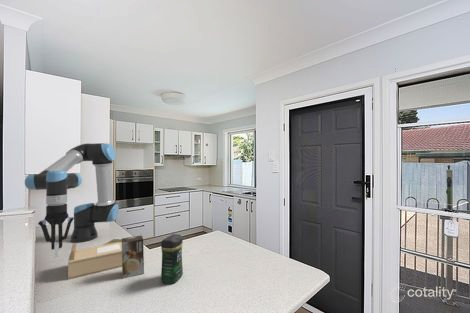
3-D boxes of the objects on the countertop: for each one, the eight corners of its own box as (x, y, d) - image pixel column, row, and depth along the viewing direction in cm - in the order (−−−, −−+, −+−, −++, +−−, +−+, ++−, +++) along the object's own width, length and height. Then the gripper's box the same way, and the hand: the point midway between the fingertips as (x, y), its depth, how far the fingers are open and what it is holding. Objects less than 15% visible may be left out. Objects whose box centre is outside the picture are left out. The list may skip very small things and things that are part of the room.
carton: (94, 256, 123) (94, 248, 124) (113, 245, 139) (113, 238, 139) (107, 256, 122) (107, 249, 122) (125, 245, 138) (125, 238, 138)
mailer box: (71, 267, 110) (71, 252, 110) (128, 254, 124) (128, 241, 124) (68, 279, 98) (68, 263, 99) (132, 264, 112) (132, 250, 112)
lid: (71, 252, 111) (71, 242, 111) (128, 241, 124) (128, 233, 125) (68, 263, 98) (68, 252, 98) (132, 250, 112) (132, 240, 112)
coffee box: (142, 268, 108) (142, 234, 109) (144, 273, 103) (144, 238, 103) (121, 272, 104) (121, 238, 104) (121, 279, 98) (121, 242, 99)
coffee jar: (175, 285, 92) (174, 240, 93) (158, 283, 94) (157, 239, 95) (185, 274, 102) (185, 233, 102) (170, 272, 104) (169, 232, 104)
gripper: (36, 207, 96) (36, 262, 95) (73, 203, 103) (73, 255, 102) (40, 204, 102) (40, 256, 102) (74, 201, 109) (75, 249, 109)
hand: (56, 255), depth 102 cm, fingers closed
